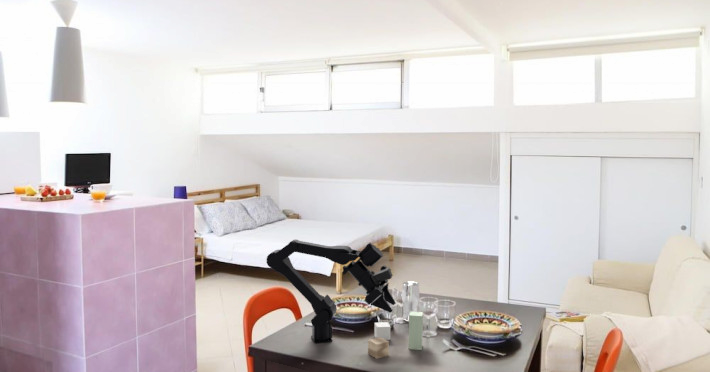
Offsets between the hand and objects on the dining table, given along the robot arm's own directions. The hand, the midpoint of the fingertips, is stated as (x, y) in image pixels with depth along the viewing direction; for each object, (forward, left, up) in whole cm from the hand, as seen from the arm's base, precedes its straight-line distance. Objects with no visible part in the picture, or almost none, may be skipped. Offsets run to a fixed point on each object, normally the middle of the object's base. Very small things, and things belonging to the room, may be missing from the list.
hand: (393, 307), depth 195 cm
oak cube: (-8, -7, -14) cm, 17 cm away
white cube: (-1, +8, -14) cm, 16 cm away
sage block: (+7, -4, -14) cm, 16 cm away
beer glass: (+17, +24, -14) cm, 33 cm away
